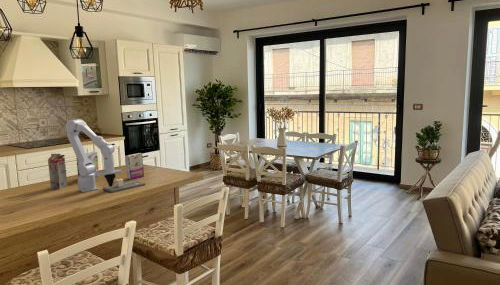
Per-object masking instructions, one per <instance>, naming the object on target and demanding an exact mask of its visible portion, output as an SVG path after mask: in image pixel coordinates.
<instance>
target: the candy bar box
mask: <svg viewBox="0 0 500 285" xmlns="http://www.w3.org/2000/svg"><path fill="white" fill-rule="evenodd" d="M124 160H125V171H126V179H127V180H135V179H138V178H142V177H144V176H145V173H144V170H145V169H144V159H143V153H141V152H138V153H133V154H128V155H124Z"/></svg>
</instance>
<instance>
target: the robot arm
mask: <svg viewBox="0 0 500 285" xmlns="http://www.w3.org/2000/svg"><path fill="white" fill-rule="evenodd" d="M65 130H66V136H67V138H68V141H69V143H70V145H71V148H72V150H73V152H74V154H75V156H76V157H77V159H78V161H79V164H78V169H79V174H80V175H81V177H79V178H78V177H77V187H78V188H77V190H78V191H79V192H81V193H86V192H91V191H94V190H95V191H96V190H99V188H98V187H97V186H96V177H98V178H101V177H104V178H105V180H106V182H107V184H108V185H107V186H110V187H112V186H113V185H114V182H115V178H116V174H122V173H123V170H122V169H115V162H114V161H115V160H114V152H115V149H116V148H115V146H114V145H113V144H111V143H109V142H107V141H106V140H105V139H104V137H103V136H100V135H97V134H96V133H95V132H94V131H93V130H92V129H91V128H90V127H89V125H88V124H87V122H85V121H84V120H83V119H82V118H78V119H69V120H67V121H66V124H65ZM81 132H83V133H84V134H85V135H86V136H87V137H88V138H90V139H91V140H92V144H94V145H95V146H96V147H97V148H98V150H99V151H100V154H101V155H102V158H103V169H104V171H102V172H99V173H97V176H96V177H95V172H96V169H97V168H96V166H95V165H94V164H93V162H92V161H91V160H89V159H88V157H87V155H86V150H85V148H84V146H83V145H82V142H81V139H80V137H79V133H81ZM77 159H76V160H77Z"/></svg>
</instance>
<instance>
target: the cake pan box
mask: <svg viewBox="0 0 500 285" xmlns="http://www.w3.org/2000/svg"><path fill="white" fill-rule="evenodd" d="M85 153H86V152H85ZM86 155H87V157H88V159H89V160H91V161H92V162H93V164H94V165H95V166H96V168H97V169H96V172H95V178H96V177H97V173H100V172H99V160H98V158H99V157H98V156H99V155H98V151H90V152H88V153H86ZM75 159H76V167H77V168H76V169H77V179H78V178H79V177H81V175H80V174H79V169H78V164H79V161H78V159H77V156H76V158H75Z"/></svg>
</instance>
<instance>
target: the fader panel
mask: <svg viewBox="0 0 500 285" xmlns="http://www.w3.org/2000/svg"><path fill="white" fill-rule="evenodd" d="M123 185H124V186H121V187H118V186H116V184H113V186H112V187H110V186H109V185H107V186H103V187H102V189H103V190H105V191H106V192H109V193H112V194H113V193H117V192H122V191H126V190H129V189H133V188H134V189H135V188H140V187H143V186H146V183H145V182H142V181H139V180H135V179H134V180H131V181H126V182H123Z"/></svg>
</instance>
